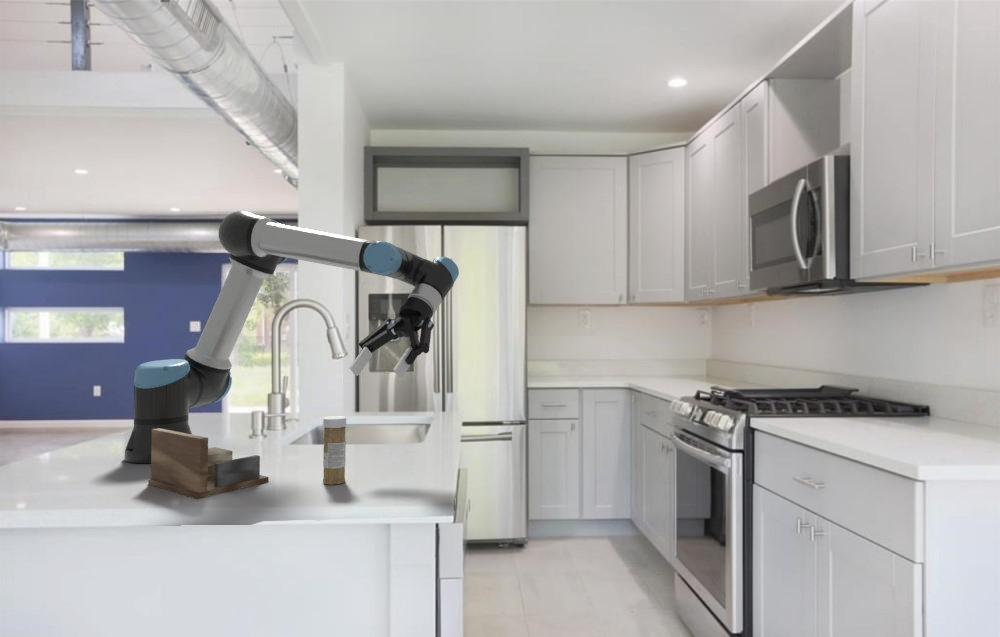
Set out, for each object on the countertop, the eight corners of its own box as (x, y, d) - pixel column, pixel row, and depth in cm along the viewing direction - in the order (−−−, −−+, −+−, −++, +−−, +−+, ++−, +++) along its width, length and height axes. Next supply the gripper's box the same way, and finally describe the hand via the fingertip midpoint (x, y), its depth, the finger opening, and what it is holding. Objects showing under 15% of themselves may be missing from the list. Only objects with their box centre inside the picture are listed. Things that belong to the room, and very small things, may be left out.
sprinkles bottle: (324, 480, 123) (324, 415, 124) (346, 479, 124) (347, 415, 124) (321, 486, 119) (322, 418, 119) (344, 485, 120) (345, 418, 120)
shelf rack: (219, 469, 132) (219, 420, 132) (268, 481, 122) (269, 428, 122) (148, 484, 119) (149, 429, 120) (196, 499, 109) (197, 439, 110)
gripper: (467, 317, 139) (425, 386, 126) (390, 318, 153) (345, 381, 140) (453, 293, 134) (408, 363, 122) (375, 297, 148) (327, 360, 136)
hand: (374, 373), depth 131 cm, fingers open, 13 cm apart
